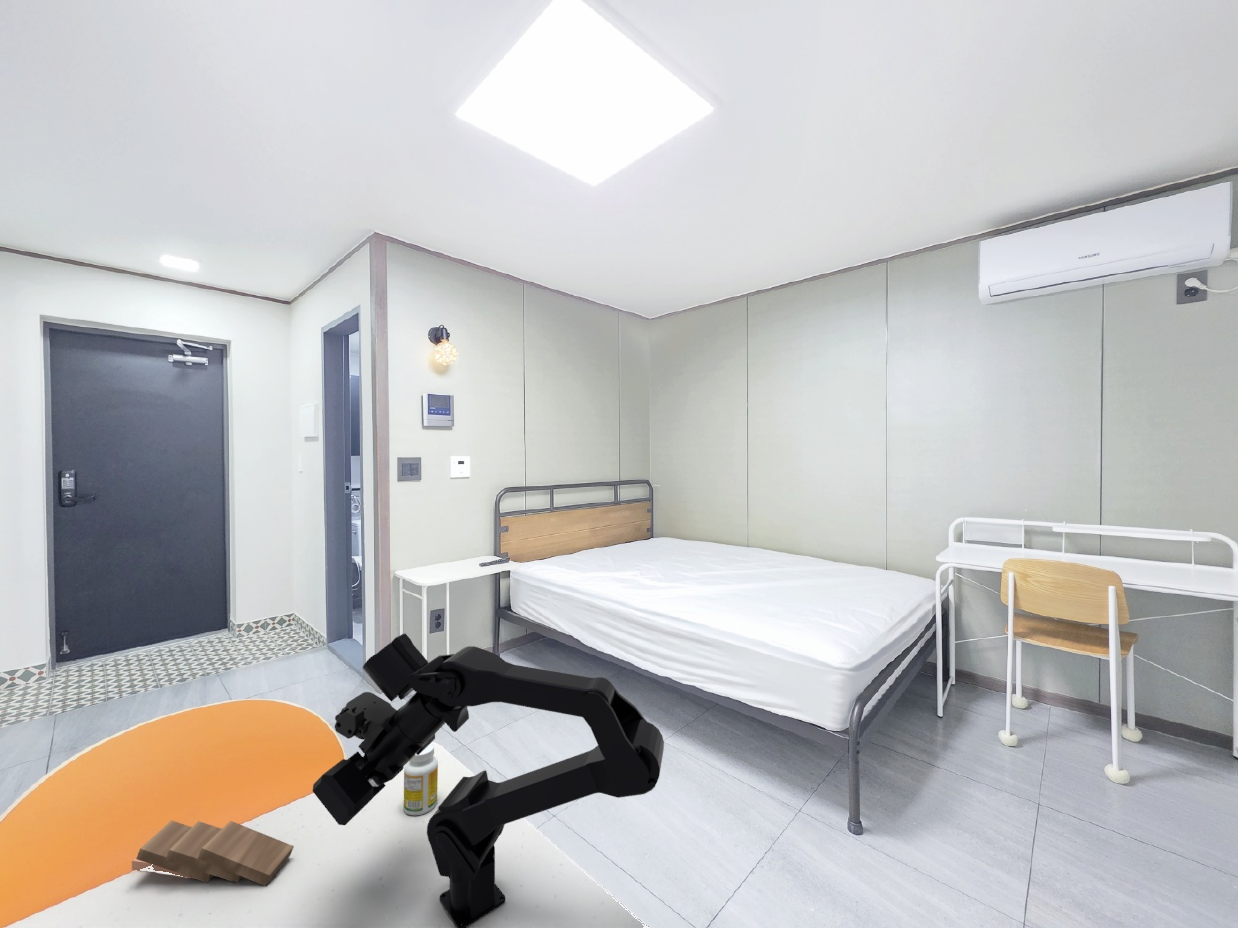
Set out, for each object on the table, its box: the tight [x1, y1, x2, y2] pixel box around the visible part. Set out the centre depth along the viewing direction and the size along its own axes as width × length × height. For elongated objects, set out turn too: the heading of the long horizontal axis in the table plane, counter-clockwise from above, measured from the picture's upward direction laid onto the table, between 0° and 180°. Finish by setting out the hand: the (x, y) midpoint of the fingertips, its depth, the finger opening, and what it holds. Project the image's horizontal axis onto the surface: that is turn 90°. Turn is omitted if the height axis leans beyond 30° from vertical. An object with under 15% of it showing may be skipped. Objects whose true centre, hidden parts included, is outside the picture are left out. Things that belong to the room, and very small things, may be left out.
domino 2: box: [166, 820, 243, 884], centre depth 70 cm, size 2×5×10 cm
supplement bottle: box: [403, 742, 439, 817], centre depth 84 cm, size 5×5×10 cm
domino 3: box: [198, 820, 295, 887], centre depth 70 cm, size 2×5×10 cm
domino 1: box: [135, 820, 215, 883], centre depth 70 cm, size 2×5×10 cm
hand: (343, 797), depth 69 cm, fingers closed
